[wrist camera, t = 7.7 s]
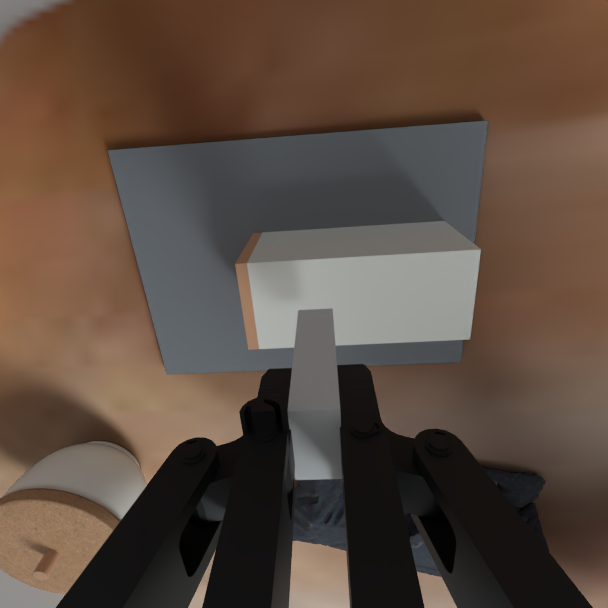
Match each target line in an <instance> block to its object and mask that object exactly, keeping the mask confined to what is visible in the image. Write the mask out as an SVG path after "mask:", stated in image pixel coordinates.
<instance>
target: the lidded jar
mask: <svg viewBox="0 0 608 608" xmlns="http://www.w3.org/2000/svg"><path fill="white" fill-rule="evenodd" d="M146 486H147V483H146V480H145V477H144V475H143V473H142V471H141V468H140V465H139V463H138V461H137V459H136V458H135V457H134V456H133V455H132V454H131V453H130V452H129V451H128V450H126V449H125V448H123V447H121V446H119V445H117V444H114V443H111V442H106V441H90V442H87V443H84V444H78V445H72V446H68V447H65V448H62V449H60V450H57V451H55V452H53V453H51V454H50V455H48V456H46V457H44V458H43V459H41V460H40V461H39V462H37V463H36V464H35V465H33V466H32V467H31V468H30V469H29V470H27V471H26V472H25V473H24V474H23V475H22V476H21V477H20V478H19V479H18V480H17V481H16V482H15V483H14V484H13V485H12V486H11V487H10V488H9V489H8V491H7V492H6V493H5V494H4V495H3V497H2V498H0V568H1V569H2V570H3V571H4V572H6V573H7V574H9V575H10V576H12V577H14V578H15V579H18V580H19V581H21V582H23V583H26V584H28V585H30V586H33V587H36V588H39V589H42V590H46V591H49V592H54V593H61V594H66V593H67V592H68V591H69V589H70V588H71V587H72V585H73V584H74V583H75V581H76V580H77V579H78V577H79V576H80V575H81V573H82V572H83V571H84V569H85V568H86V566H87V565H88V564H89V562H90V561H91V560H92V558H93V557H94V556H95V554H96V553H97V552H98V550H99V549H100V548H101V546H102V545H103V544H104V542H105V541H106V540H107V538H108V537H109V536H110V534H111V533H112V532H113V530H114V529H115V528H116V526H117V525H118V524H119V522H120V521H121V520H122V518H123V517H124V516H125V514H126V513H127V511H128V510H129V509H130V507H131V506H132V505H133V503H134V502H135V501H136V499H137V498H138V497H139V495H140V494H141V493H142V491H143V490H144V489H145V487H146Z"/></svg>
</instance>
